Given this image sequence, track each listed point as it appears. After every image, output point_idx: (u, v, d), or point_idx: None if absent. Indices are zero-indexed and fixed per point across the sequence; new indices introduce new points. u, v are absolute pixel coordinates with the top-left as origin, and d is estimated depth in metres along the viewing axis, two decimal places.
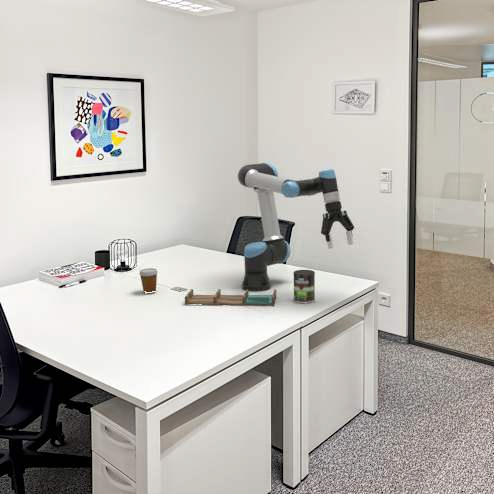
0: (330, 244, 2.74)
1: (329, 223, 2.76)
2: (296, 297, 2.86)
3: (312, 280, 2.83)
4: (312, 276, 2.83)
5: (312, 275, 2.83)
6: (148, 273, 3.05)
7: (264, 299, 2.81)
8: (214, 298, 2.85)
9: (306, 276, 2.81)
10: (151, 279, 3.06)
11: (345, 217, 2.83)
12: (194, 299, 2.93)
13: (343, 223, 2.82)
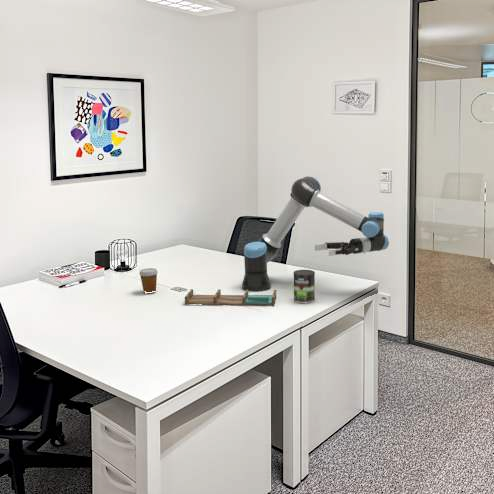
0: (332, 253, 2.82)
1: None
2: (296, 297, 2.86)
3: (312, 280, 2.83)
4: (312, 276, 2.83)
5: (312, 275, 2.83)
6: (148, 273, 3.05)
7: (264, 299, 2.81)
8: (214, 298, 2.85)
9: (306, 276, 2.81)
10: (151, 279, 3.06)
11: None
12: (194, 299, 2.93)
13: (336, 247, 2.95)
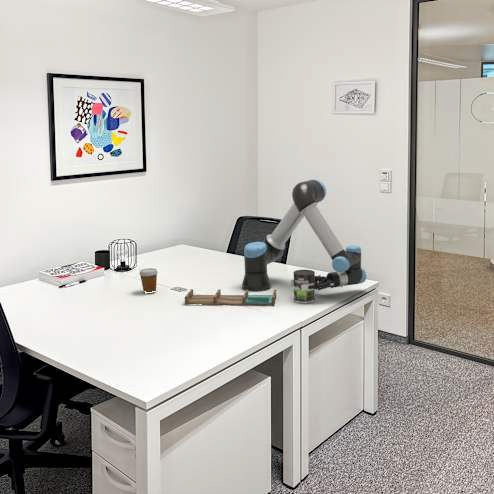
0: (305, 288, 2.81)
1: None
2: (296, 297, 2.86)
3: (312, 280, 2.83)
4: (312, 276, 2.83)
5: (312, 275, 2.83)
6: (148, 273, 3.05)
7: (264, 299, 2.81)
8: (214, 298, 2.85)
9: (306, 276, 2.81)
10: (151, 279, 3.06)
11: None
12: (194, 299, 2.93)
13: None
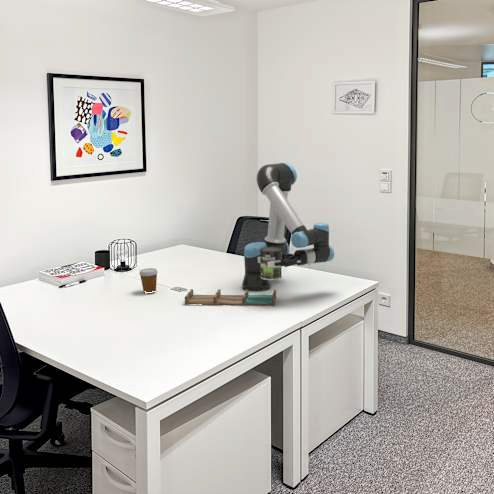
0: (271, 265, 2.77)
1: None
2: (263, 274, 2.82)
3: (279, 257, 2.79)
4: (279, 253, 2.79)
5: (279, 252, 2.79)
6: (148, 273, 3.05)
7: (264, 299, 2.81)
8: (214, 298, 2.85)
9: (272, 253, 2.77)
10: (151, 279, 3.06)
11: None
12: (194, 299, 2.93)
13: None
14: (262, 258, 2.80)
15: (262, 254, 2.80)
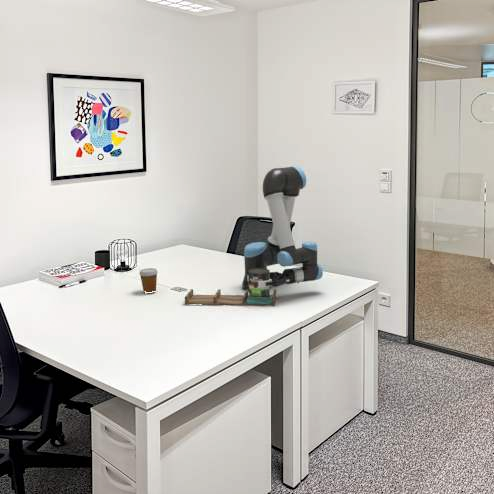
0: (262, 285, 2.80)
1: None
2: (251, 295, 2.86)
3: (266, 279, 2.84)
4: (266, 275, 2.83)
5: (266, 274, 2.83)
6: (148, 273, 3.05)
7: (264, 299, 2.81)
8: (214, 298, 2.85)
9: (260, 274, 2.81)
10: (151, 279, 3.06)
11: None
12: (194, 299, 2.93)
13: (269, 277, 2.94)
14: (250, 280, 2.84)
15: (250, 276, 2.84)
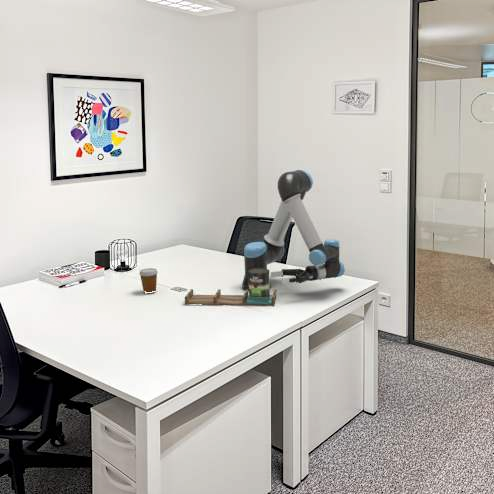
0: (286, 281, 2.85)
1: None
2: (251, 295, 2.86)
3: (266, 278, 2.84)
4: (266, 274, 2.83)
5: (266, 273, 2.83)
6: (148, 273, 3.05)
7: (264, 299, 2.81)
8: (214, 298, 2.85)
9: (260, 274, 2.82)
10: (151, 279, 3.06)
11: None
12: (194, 299, 2.93)
13: (291, 274, 2.98)
14: (250, 280, 2.84)
15: (250, 276, 2.84)
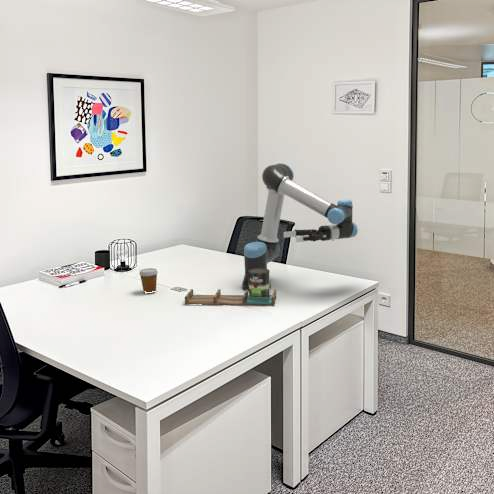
0: (300, 240, 2.84)
1: None
2: (251, 295, 2.86)
3: (266, 278, 2.84)
4: (266, 274, 2.83)
5: (266, 273, 2.83)
6: (148, 273, 3.05)
7: (264, 299, 2.81)
8: (214, 298, 2.85)
9: (260, 274, 2.82)
10: (151, 279, 3.06)
11: None
12: (194, 299, 2.93)
13: (305, 234, 2.98)
14: (250, 280, 2.84)
15: (250, 276, 2.84)
